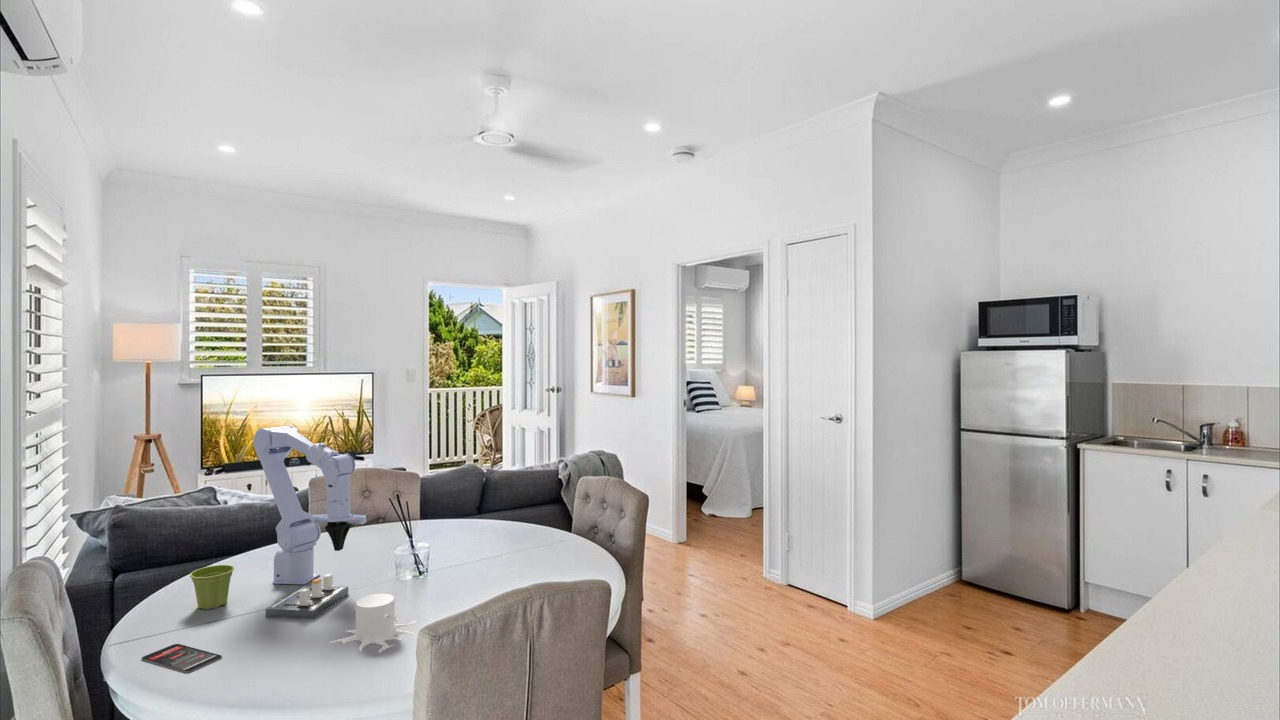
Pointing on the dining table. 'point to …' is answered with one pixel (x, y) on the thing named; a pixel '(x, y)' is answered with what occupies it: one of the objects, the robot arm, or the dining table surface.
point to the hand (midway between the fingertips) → (338, 549)
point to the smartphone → (181, 658)
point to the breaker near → (304, 597)
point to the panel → (291, 610)
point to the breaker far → (328, 582)
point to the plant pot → (212, 585)
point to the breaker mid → (317, 588)
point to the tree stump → (375, 621)
